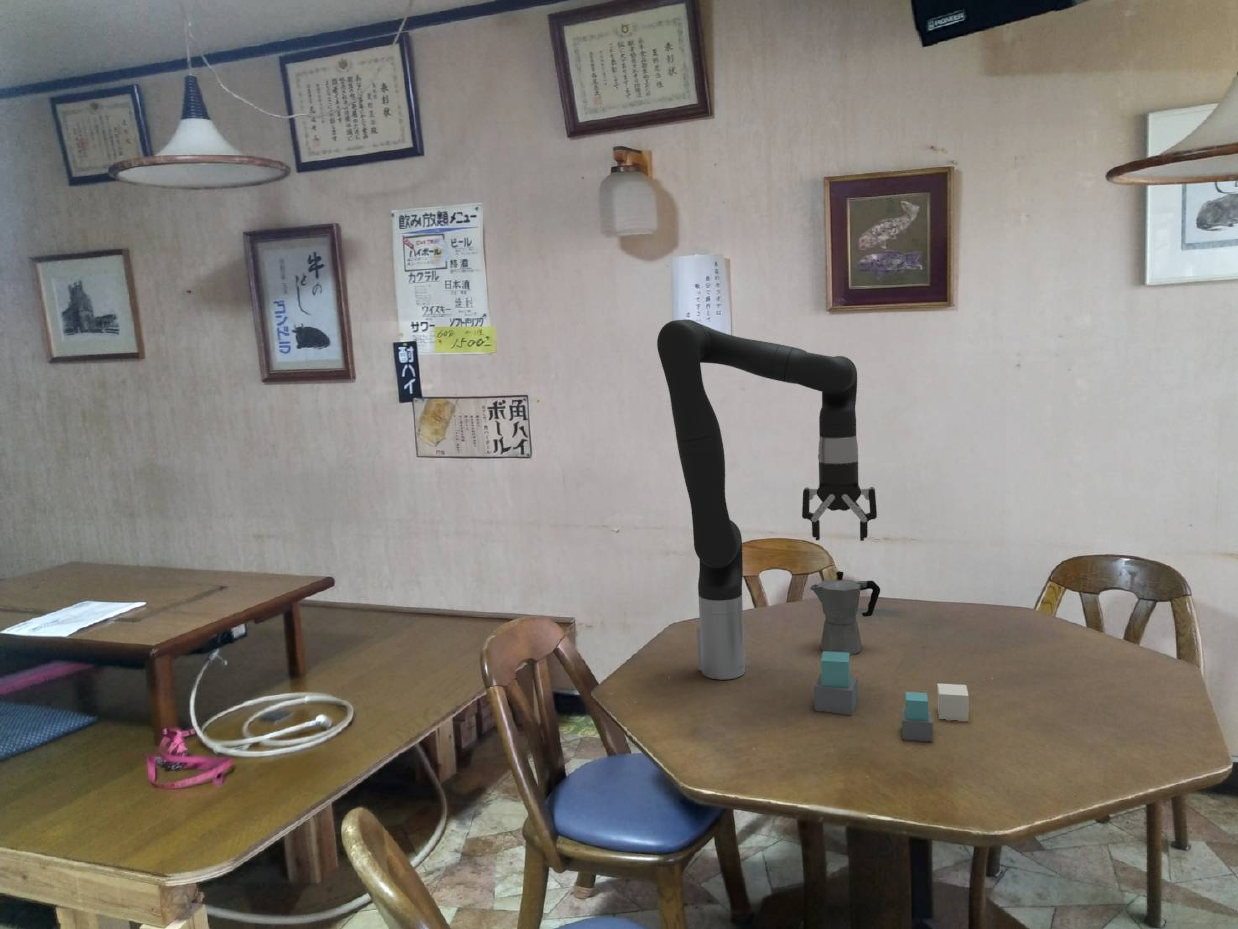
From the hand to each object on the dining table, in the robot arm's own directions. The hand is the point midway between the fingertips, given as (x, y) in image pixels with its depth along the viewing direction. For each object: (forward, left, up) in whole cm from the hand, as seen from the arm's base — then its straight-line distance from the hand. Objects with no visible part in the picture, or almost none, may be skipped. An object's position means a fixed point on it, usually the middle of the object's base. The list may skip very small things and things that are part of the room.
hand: (839, 539), depth 175 cm
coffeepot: (-12, +17, -30) cm, 37 cm away
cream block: (+23, +2, -30) cm, 38 cm away
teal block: (+6, -9, -25) cm, 27 cm away
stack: (+23, -9, -30) cm, 39 cm away
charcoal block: (+6, -9, -30) cm, 32 cm away
